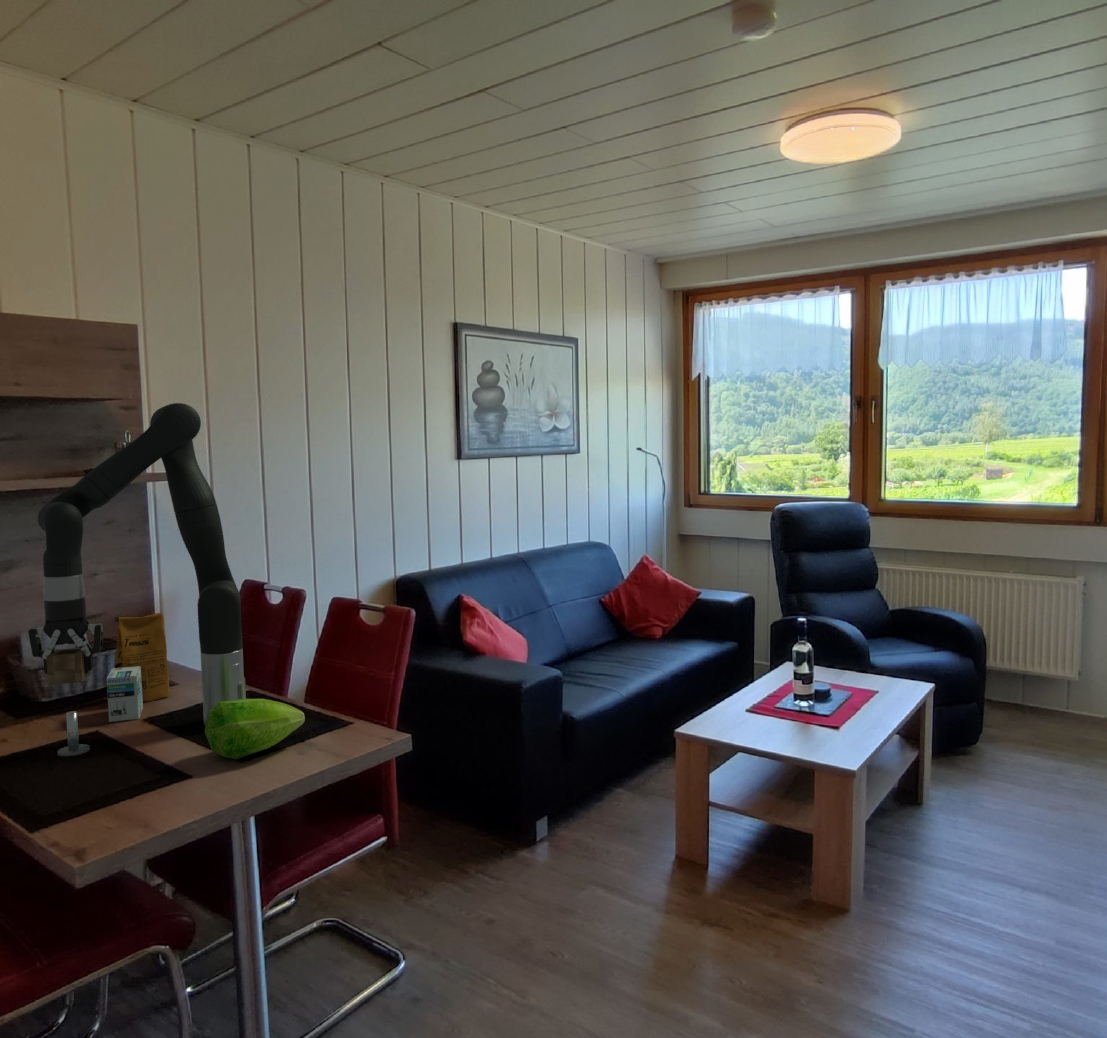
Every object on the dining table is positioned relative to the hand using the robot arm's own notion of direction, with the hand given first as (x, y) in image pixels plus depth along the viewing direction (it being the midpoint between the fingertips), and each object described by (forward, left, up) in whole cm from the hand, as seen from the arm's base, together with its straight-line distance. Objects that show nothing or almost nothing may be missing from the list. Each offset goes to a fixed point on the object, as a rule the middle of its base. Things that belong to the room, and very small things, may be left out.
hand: (69, 673), depth 177 cm
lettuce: (-38, +12, -17) cm, 43 cm away
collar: (0, 0, -1) cm, 1 cm away
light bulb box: (-5, -25, -17) cm, 31 cm away
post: (0, 0, -17) cm, 17 cm away
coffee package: (-6, -39, -17) cm, 43 cm away
